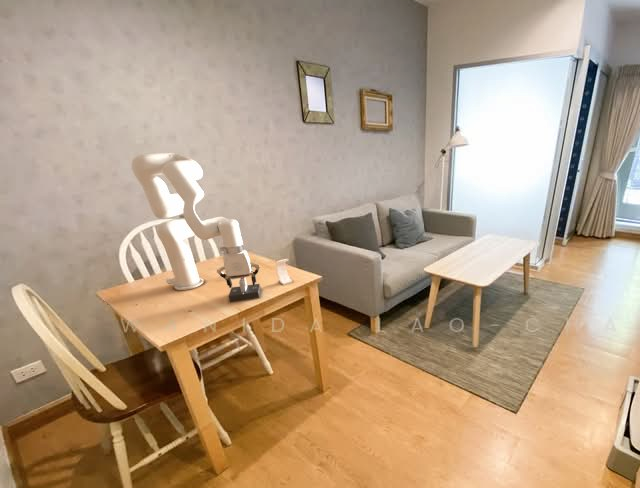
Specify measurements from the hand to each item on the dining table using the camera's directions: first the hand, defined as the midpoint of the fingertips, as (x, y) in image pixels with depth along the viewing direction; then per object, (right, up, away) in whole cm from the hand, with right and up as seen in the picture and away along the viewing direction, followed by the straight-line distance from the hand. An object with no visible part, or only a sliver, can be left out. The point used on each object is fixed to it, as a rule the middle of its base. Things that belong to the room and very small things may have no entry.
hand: (242, 285), depth 147 cm
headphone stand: (+14, +2, +15) cm, 21 cm away
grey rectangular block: (+1, -2, +1) cm, 2 cm away
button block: (-13, +6, +25) cm, 29 cm away
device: (+1, -5, +2) cm, 5 cm away
